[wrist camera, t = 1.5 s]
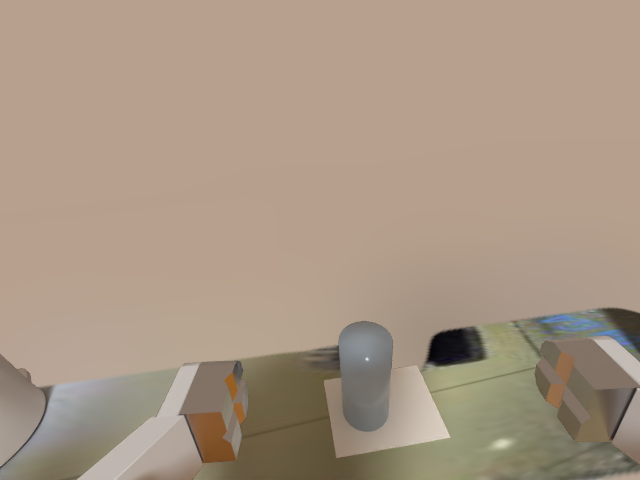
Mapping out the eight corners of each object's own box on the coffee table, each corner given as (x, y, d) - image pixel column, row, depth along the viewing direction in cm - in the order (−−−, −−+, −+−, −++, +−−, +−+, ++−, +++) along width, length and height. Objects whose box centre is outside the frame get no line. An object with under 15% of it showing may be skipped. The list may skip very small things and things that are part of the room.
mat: (336, 460, 37) (336, 457, 37) (323, 382, 45) (323, 380, 45) (449, 439, 38) (450, 436, 38) (416, 367, 46) (416, 364, 46)
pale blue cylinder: (347, 435, 39) (344, 367, 32) (338, 392, 43) (334, 325, 37) (394, 427, 39) (400, 358, 33) (380, 384, 44) (383, 318, 38)
